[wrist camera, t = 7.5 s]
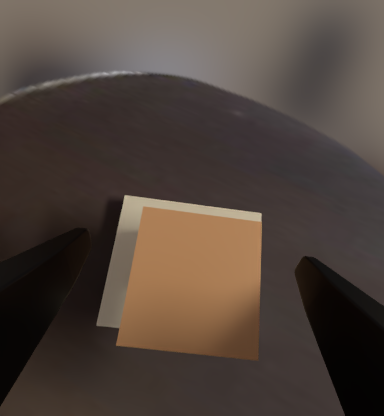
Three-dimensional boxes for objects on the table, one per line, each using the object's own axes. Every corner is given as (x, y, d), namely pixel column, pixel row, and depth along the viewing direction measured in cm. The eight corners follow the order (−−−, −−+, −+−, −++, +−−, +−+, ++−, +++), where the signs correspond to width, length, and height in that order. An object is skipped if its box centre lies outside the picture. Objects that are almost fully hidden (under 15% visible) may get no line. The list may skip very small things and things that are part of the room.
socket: (248, 331, 16) (258, 342, 14) (106, 316, 15) (96, 325, 13) (252, 217, 18) (261, 213, 16) (131, 201, 18) (124, 195, 16)
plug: (210, 294, 16) (258, 360, 6) (155, 288, 16) (116, 345, 6) (215, 239, 17) (261, 222, 7) (164, 233, 17) (143, 206, 7)
